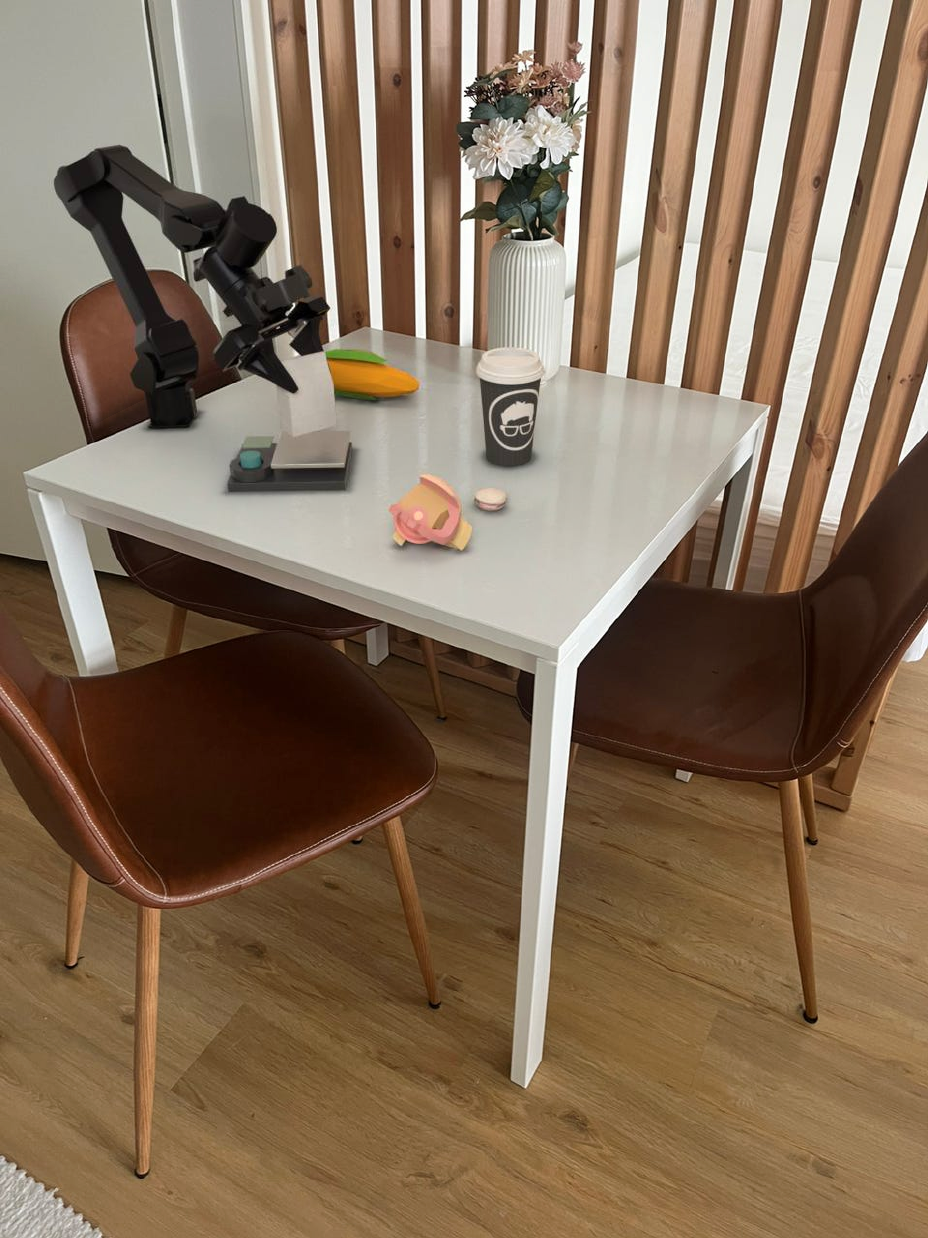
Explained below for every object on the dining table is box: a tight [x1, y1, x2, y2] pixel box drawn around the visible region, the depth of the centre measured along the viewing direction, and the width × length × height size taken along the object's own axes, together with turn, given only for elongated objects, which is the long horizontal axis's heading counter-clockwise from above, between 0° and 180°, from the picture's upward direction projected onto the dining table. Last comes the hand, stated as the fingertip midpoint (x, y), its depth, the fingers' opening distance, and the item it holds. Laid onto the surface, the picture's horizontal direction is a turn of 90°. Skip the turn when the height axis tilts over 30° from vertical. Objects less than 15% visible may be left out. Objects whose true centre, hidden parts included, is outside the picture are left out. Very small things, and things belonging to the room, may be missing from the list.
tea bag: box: [275, 351, 337, 437], centre depth 136 cm, size 4×7×10 cm, turn 126°
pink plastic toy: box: [388, 473, 474, 552], centre depth 124 cm, size 9×10×10 cm
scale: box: [226, 441, 353, 493], centre depth 142 cm, size 16×13×3 cm
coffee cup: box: [475, 346, 546, 467], centre depth 142 cm, size 10×10×15 cm
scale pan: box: [271, 430, 351, 469], centre depth 141 cm, size 10×11×1 cm
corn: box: [324, 348, 420, 401], centre depth 164 cm, size 7×8×20 cm
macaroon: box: [474, 487, 508, 512], centre depth 133 cm, size 4×5×2 cm
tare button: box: [240, 451, 262, 468], centre depth 138 cm, size 3×3×2 cm
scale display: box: [241, 435, 275, 448], centre depth 143 cm, size 4×4×1 cm
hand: (312, 383), depth 135 cm, fingers closed on tea bag, 7 cm apart
